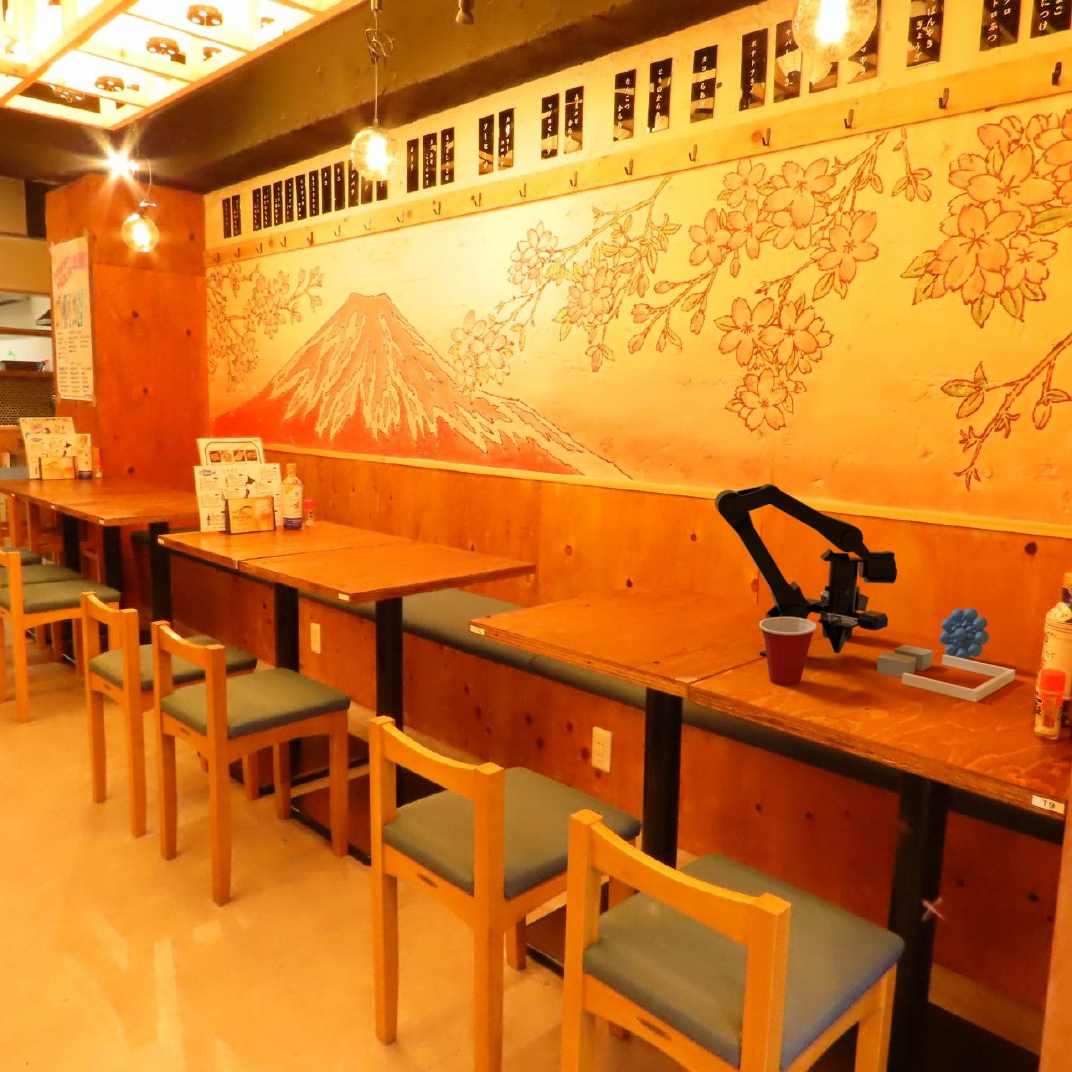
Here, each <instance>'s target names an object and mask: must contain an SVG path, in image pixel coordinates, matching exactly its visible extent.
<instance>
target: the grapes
mask: <svg viewBox="0 0 1072 1072" xmlns="http://www.w3.org/2000/svg"><path fill="white" fill-rule="evenodd" d="M978 615H979V614H978V611H977V610H976V608H974V607H968V608H966V609H965V610H964V609H962V608H960V607H959V608H954V609H953V610H951V613H950V616H948V617H945V618H943V620H942V622H941V628H942V629H943V631H942V632H941V633H940V635H939V639H938V640H939V642H940V643H941V644H943V645H945V648H944V652H945V655H949V656H953V657H958V658H962V659H967V660H970V658H971V657H974V658H976V657H979V656H981V654H982V653H983V652H984V651H983V646H982V645H986V644H987V643H988V642H989V640H990V634H989V633H988V631H987V630H985V629H986V628H987V627H988V620H987V619H986V617H984V616H978Z"/></svg>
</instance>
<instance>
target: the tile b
mask: <svg viewBox="0 0 1072 1072" xmlns="http://www.w3.org/2000/svg"><path fill="white" fill-rule="evenodd" d="M893 653H896V654H901V655H906V656H911V657H916V663H915V670H918V671H924V670H927V669H928V668H930V667H932V666H933V658H934V657H933V656H934V650H931V649H926V648H921V647H917V646H913V645H908V644H903V645H901V646H899V647H896V648H894V652H893Z"/></svg>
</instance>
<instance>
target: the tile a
mask: <svg viewBox="0 0 1072 1072" xmlns="http://www.w3.org/2000/svg"><path fill="white" fill-rule="evenodd" d="M876 662H877V663H876V665H877V666H876V673H879V674H883V675H888V676H893V677H897V678H901V679H902V675H903V673H908V674H912V675H915V673H916V669H915V663H916V657H911V656H906V655H901V654H896V653H894V652H889V651H885V652H884V653H882V654H880V655H879V656H877V661H876Z"/></svg>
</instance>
